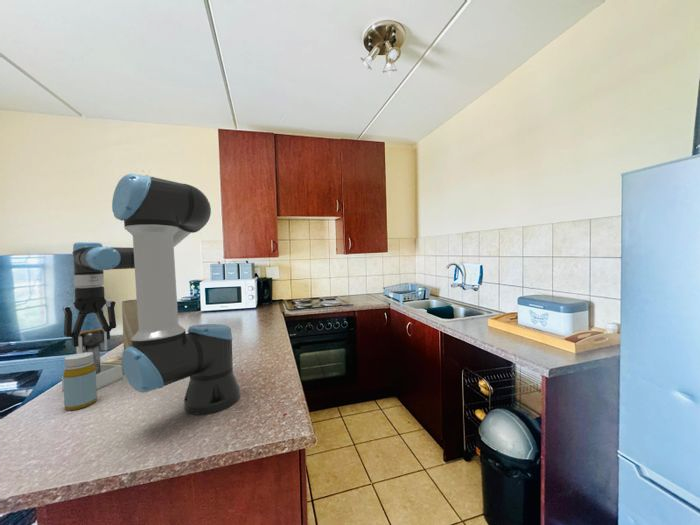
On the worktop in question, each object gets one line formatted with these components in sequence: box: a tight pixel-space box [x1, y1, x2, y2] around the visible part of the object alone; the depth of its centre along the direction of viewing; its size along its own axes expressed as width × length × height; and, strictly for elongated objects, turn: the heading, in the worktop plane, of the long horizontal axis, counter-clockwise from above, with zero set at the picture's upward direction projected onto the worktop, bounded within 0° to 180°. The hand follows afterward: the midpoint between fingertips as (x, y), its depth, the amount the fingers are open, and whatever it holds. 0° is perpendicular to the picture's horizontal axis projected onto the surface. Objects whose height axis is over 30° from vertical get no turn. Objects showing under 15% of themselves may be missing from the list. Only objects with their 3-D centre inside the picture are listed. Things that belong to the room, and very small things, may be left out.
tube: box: [121, 298, 138, 351], centre depth 128 cm, size 10×10×25 cm
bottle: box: [62, 351, 98, 411], centre depth 83 cm, size 7×7×15 cm
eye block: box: [100, 354, 125, 375], centre depth 112 cm, size 12×12×4 cm
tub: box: [61, 363, 123, 392], centre depth 97 cm, size 11×11×5 cm
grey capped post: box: [79, 328, 104, 374], centre depth 97 cm, size 6×6×16 cm
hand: (92, 352), depth 97 cm, fingers closed on grey capped post, 6 cm apart
